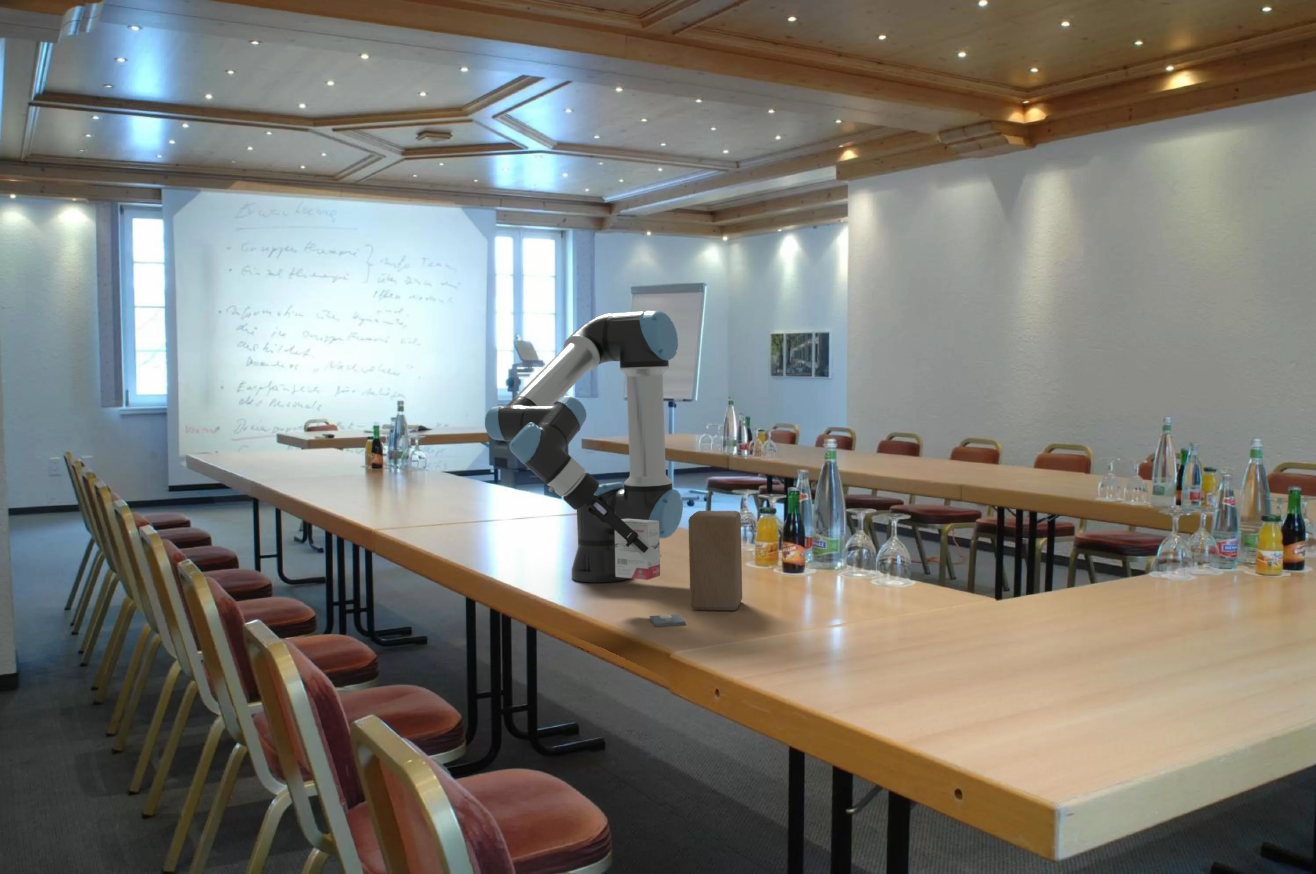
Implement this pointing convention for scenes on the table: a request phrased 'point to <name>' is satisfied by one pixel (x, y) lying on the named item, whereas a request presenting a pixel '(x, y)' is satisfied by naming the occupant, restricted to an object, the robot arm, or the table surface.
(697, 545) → the block
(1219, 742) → the table surface
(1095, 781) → the table surface
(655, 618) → the card
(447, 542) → the table surface
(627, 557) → the ink box
